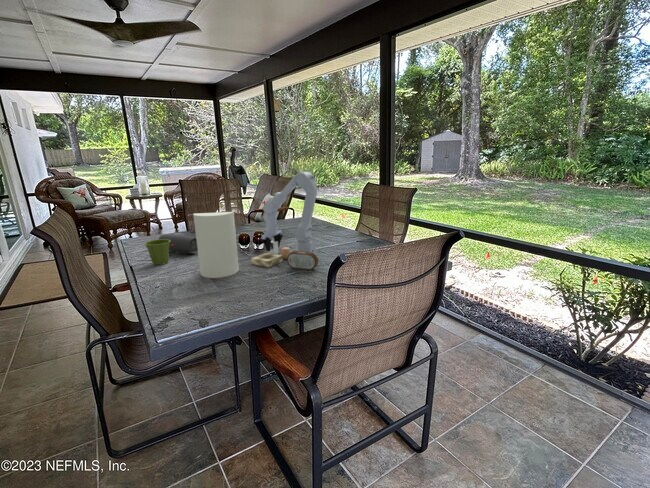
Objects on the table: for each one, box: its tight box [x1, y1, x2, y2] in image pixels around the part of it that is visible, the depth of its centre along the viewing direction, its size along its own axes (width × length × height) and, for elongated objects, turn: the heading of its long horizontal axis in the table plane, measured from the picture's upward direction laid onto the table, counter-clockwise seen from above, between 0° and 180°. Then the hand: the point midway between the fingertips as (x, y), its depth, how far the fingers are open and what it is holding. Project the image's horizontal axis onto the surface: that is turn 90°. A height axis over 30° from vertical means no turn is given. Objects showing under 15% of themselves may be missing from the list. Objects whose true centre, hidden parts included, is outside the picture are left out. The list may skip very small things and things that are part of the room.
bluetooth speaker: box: [158, 234, 198, 254], centre depth 188 cm, size 23×9×10 cm, turn 68°
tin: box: [286, 250, 319, 271], centre depth 158 cm, size 15×3×8 cm, turn 71°
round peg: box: [279, 246, 291, 260], centre depth 176 cm, size 5×5×5 cm
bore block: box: [250, 252, 284, 268], centre depth 169 cm, size 11×11×3 cm
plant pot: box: [144, 238, 170, 265], centre depth 170 cm, size 12×12×11 cm
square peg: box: [267, 239, 280, 255], centre depth 182 cm, size 4×4×7 cm
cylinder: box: [192, 211, 240, 279], centre depth 154 cm, size 17×17×28 cm
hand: (272, 249), depth 183 cm, fingers open, 7 cm apart
